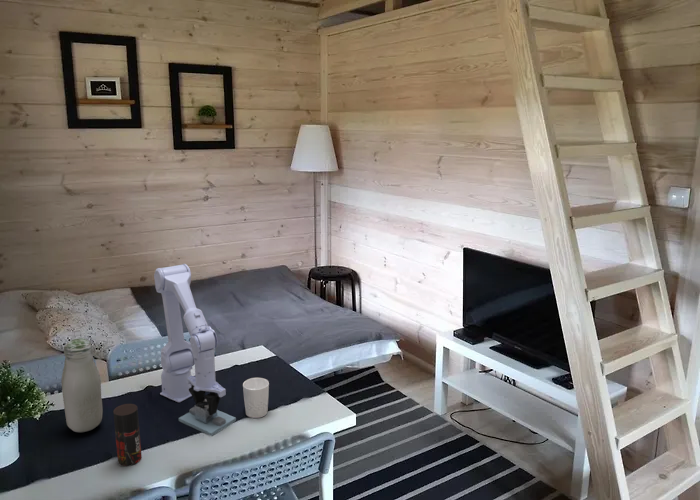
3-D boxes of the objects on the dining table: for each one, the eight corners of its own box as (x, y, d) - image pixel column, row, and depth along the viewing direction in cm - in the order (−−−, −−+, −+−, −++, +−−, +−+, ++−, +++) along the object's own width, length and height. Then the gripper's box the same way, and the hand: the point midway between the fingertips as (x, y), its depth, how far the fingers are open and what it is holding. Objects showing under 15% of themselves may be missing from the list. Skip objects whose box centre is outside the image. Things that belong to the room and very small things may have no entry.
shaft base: (178, 421, 167) (177, 406, 166) (203, 406, 175) (203, 392, 174) (211, 436, 160) (210, 420, 158) (236, 420, 168) (235, 405, 167)
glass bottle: (76, 442, 155) (65, 351, 148) (61, 428, 162) (51, 339, 155) (110, 428, 162) (102, 340, 155) (95, 415, 169) (86, 330, 162)
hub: (195, 418, 166) (194, 405, 165) (206, 411, 170) (206, 398, 169) (205, 423, 164) (205, 410, 163) (217, 416, 167) (216, 403, 166)
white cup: (265, 420, 168) (264, 390, 166) (240, 418, 169) (239, 388, 167) (272, 407, 176) (271, 378, 173) (248, 404, 177) (247, 376, 174)
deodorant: (122, 452, 151) (117, 403, 147) (144, 452, 152) (140, 403, 148) (114, 466, 145) (110, 415, 142) (138, 465, 146) (133, 415, 142)
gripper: (177, 368, 164) (180, 409, 167) (212, 381, 156) (214, 424, 160) (195, 359, 169) (197, 399, 173) (230, 372, 162) (231, 413, 165)
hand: (206, 410), depth 167 cm, fingers open, 5 cm apart
